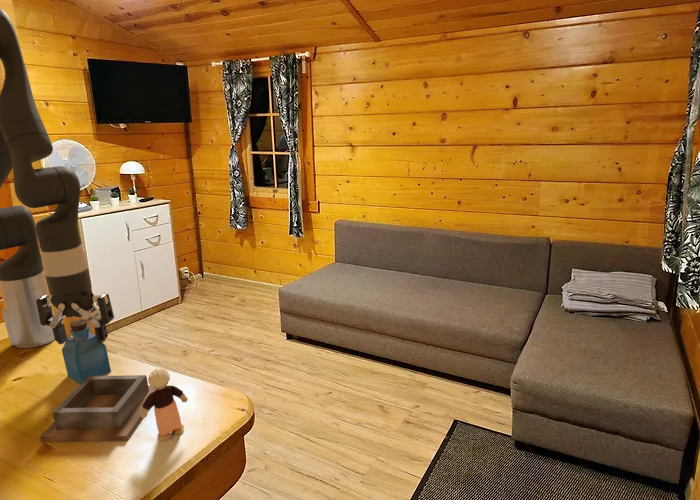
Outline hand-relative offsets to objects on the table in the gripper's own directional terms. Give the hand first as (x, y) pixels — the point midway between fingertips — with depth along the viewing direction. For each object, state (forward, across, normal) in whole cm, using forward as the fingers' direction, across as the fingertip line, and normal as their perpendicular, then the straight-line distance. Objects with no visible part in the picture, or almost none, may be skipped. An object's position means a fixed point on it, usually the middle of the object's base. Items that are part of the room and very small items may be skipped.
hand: (82, 341), depth 100 cm
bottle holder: (+8, -11, +14) cm, 19 cm away
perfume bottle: (+8, 0, 0) cm, 8 cm away
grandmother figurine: (+8, -25, +20) cm, 33 cm away
